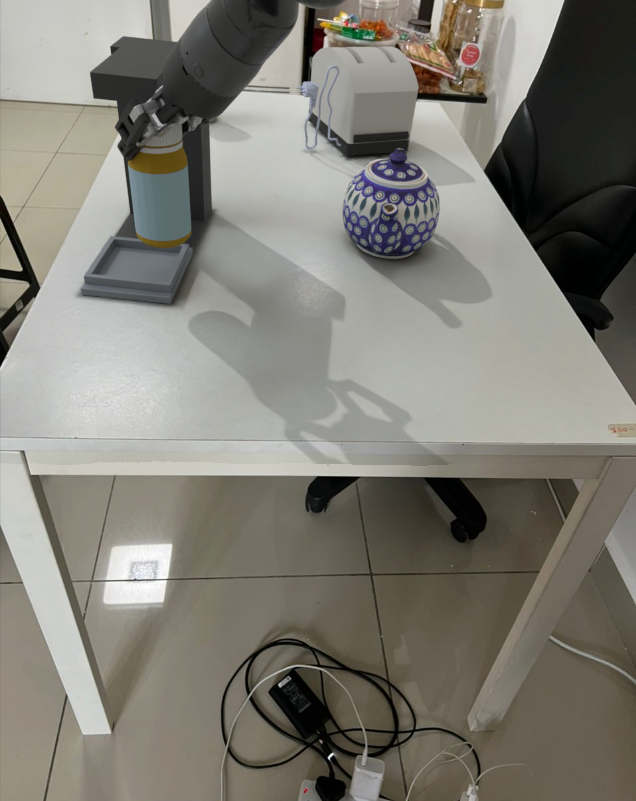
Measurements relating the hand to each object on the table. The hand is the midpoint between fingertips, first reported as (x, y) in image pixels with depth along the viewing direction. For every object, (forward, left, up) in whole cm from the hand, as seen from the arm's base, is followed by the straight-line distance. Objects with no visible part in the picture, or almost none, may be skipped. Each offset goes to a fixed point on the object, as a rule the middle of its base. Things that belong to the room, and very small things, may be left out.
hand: (146, 145), depth 77 cm
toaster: (+56, +38, -19) cm, 70 cm away
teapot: (+37, -4, -19) cm, 42 cm away
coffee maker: (+3, +10, -19) cm, 22 cm away
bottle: (+1, -2, -12) cm, 12 cm away
